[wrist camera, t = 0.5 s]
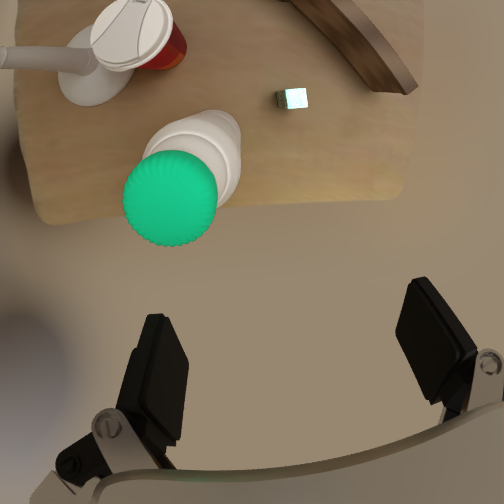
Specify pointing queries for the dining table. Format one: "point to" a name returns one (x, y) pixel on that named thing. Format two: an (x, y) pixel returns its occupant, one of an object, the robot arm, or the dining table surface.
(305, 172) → the dining table surface
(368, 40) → the gate
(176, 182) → the water bottle
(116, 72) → the candlestick
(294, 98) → the gate posts
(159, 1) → the paper cup
